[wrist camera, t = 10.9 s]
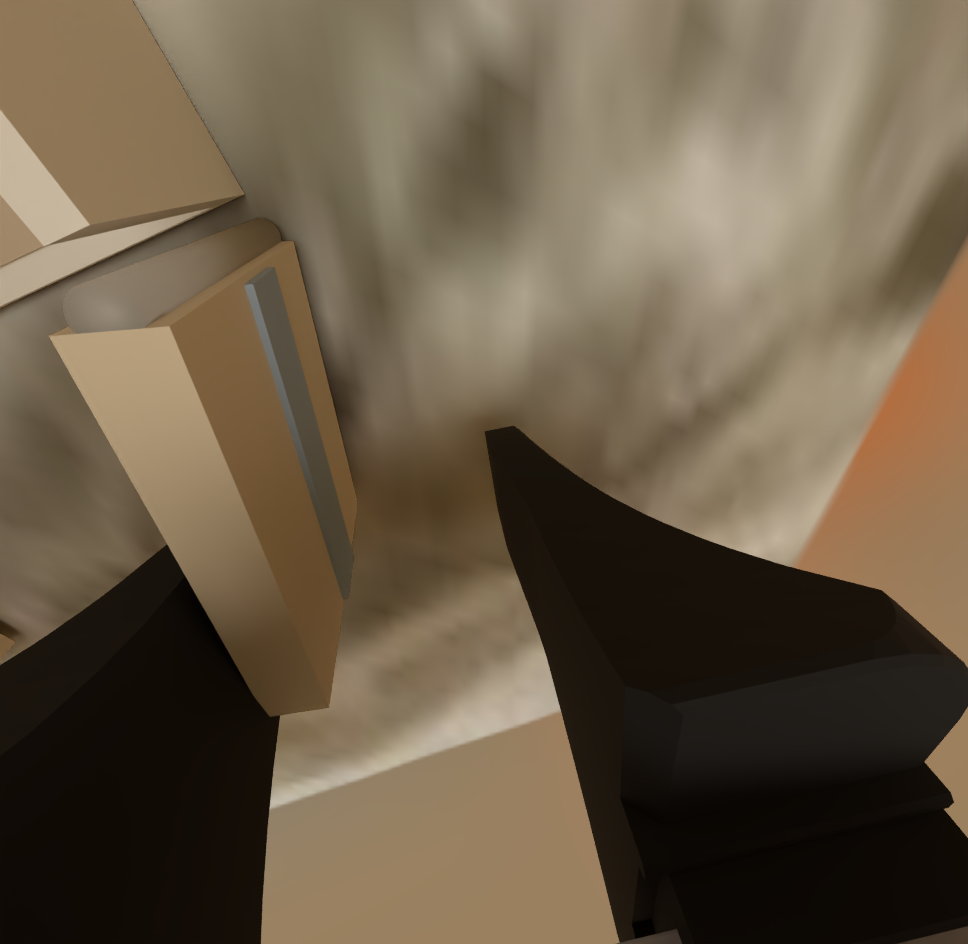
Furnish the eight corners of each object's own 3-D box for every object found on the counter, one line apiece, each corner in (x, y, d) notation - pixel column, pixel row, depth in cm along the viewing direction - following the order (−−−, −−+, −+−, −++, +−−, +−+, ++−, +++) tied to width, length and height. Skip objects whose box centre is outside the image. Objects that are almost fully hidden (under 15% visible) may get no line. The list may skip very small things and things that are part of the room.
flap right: (230, 219, 8) (20, 288, 4) (293, 216, 8) (163, 277, 4) (318, 508, 12) (265, 717, 8) (362, 503, 12) (335, 706, 8)
